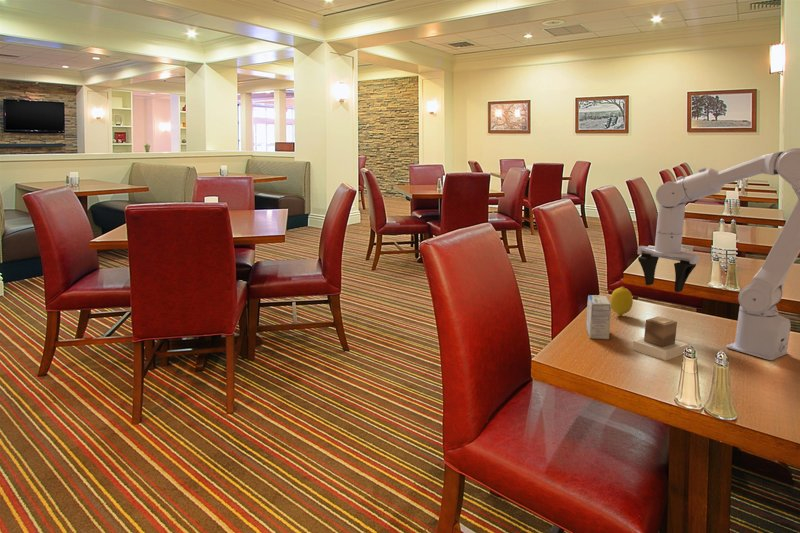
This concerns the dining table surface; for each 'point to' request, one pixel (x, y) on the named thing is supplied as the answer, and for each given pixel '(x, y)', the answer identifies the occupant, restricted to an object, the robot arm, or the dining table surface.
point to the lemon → (621, 301)
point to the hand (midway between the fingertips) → (663, 287)
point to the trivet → (659, 349)
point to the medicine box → (598, 317)
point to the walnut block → (660, 331)
